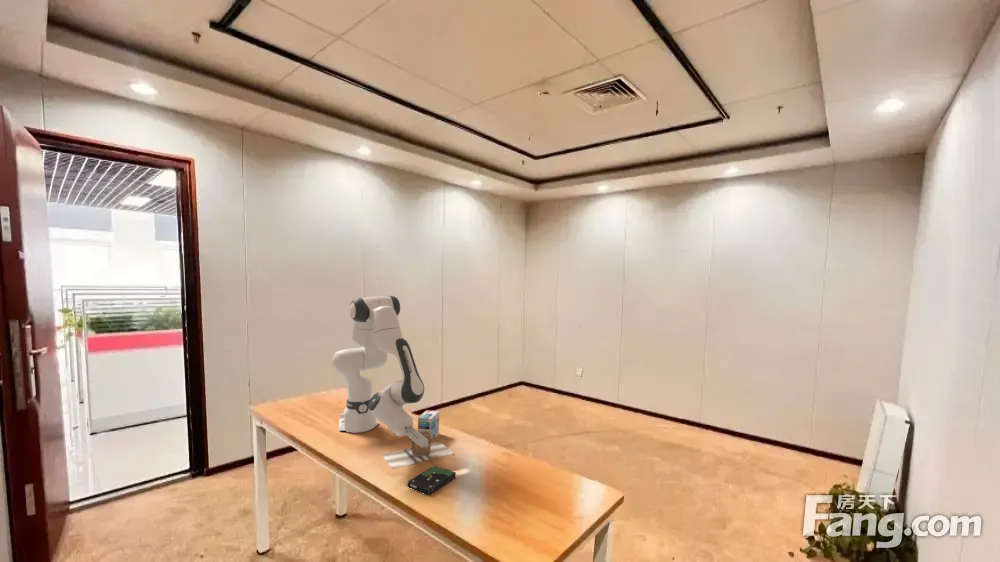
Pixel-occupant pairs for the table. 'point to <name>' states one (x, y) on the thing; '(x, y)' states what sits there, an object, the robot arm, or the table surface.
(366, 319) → the robot arm
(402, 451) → the board
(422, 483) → the disk drive
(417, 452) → the block
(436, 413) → the light bulb box
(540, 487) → the table surface
